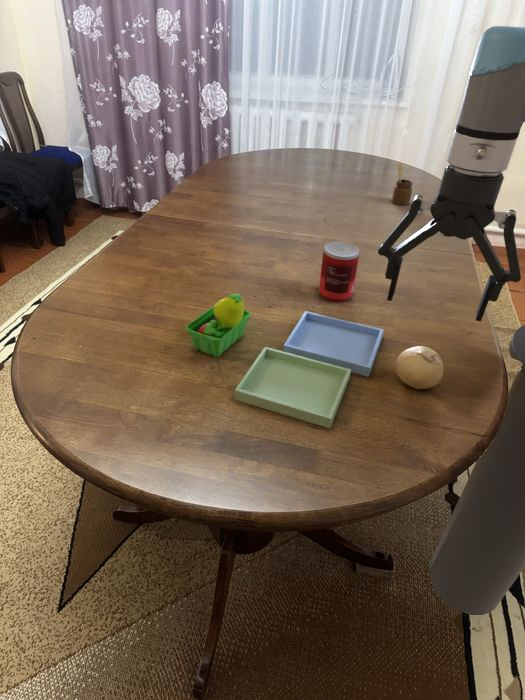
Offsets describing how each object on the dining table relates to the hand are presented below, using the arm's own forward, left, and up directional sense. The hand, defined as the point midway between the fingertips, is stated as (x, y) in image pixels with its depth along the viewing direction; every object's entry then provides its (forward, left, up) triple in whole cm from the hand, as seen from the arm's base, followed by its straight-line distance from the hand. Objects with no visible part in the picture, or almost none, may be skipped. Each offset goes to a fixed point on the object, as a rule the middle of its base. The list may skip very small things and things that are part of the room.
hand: (433, 306), depth 74 cm
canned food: (+20, -23, -15) cm, 34 cm away
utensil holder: (+16, -95, -15) cm, 97 cm away
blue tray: (+15, -4, -15) cm, 22 cm away
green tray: (+18, +12, -15) cm, 26 cm away
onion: (-1, 0, -15) cm, 15 cm away
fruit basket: (+35, +4, -15) cm, 39 cm away
